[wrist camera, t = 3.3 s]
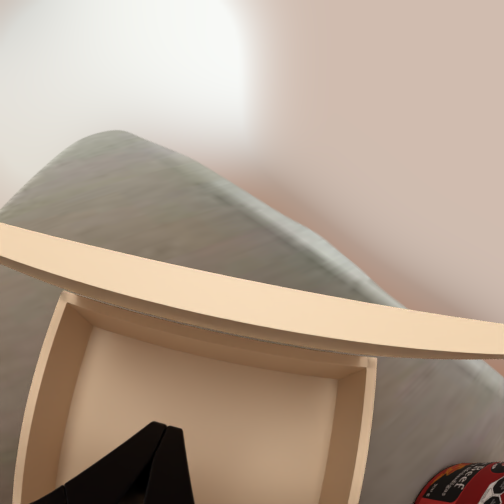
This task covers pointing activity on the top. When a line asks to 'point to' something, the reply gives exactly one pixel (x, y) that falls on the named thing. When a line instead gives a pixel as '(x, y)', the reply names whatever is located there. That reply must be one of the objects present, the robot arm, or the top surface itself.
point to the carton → (196, 407)
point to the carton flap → (246, 303)
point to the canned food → (466, 485)
